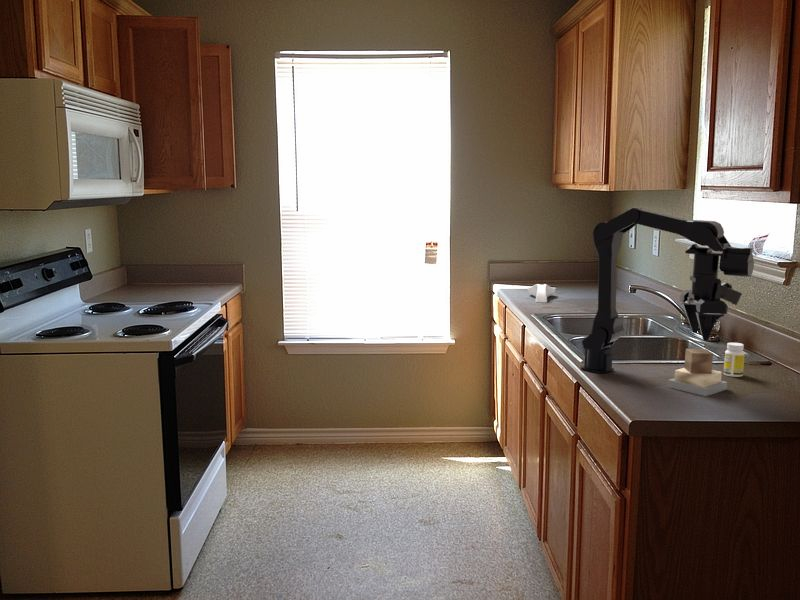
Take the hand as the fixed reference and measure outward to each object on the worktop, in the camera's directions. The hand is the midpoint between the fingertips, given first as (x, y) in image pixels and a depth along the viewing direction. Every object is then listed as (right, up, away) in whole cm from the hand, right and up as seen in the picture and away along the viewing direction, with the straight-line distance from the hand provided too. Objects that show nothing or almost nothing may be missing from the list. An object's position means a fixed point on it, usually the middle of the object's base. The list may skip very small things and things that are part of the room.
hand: (700, 336), depth 188 cm
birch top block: (0, -11, +1) cm, 11 cm away
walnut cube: (0, -9, +1) cm, 9 cm away
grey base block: (0, -14, +1) cm, 14 cm away
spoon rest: (-13, +9, +138) cm, 139 cm away
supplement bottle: (+14, -11, +15) cm, 23 cm away
